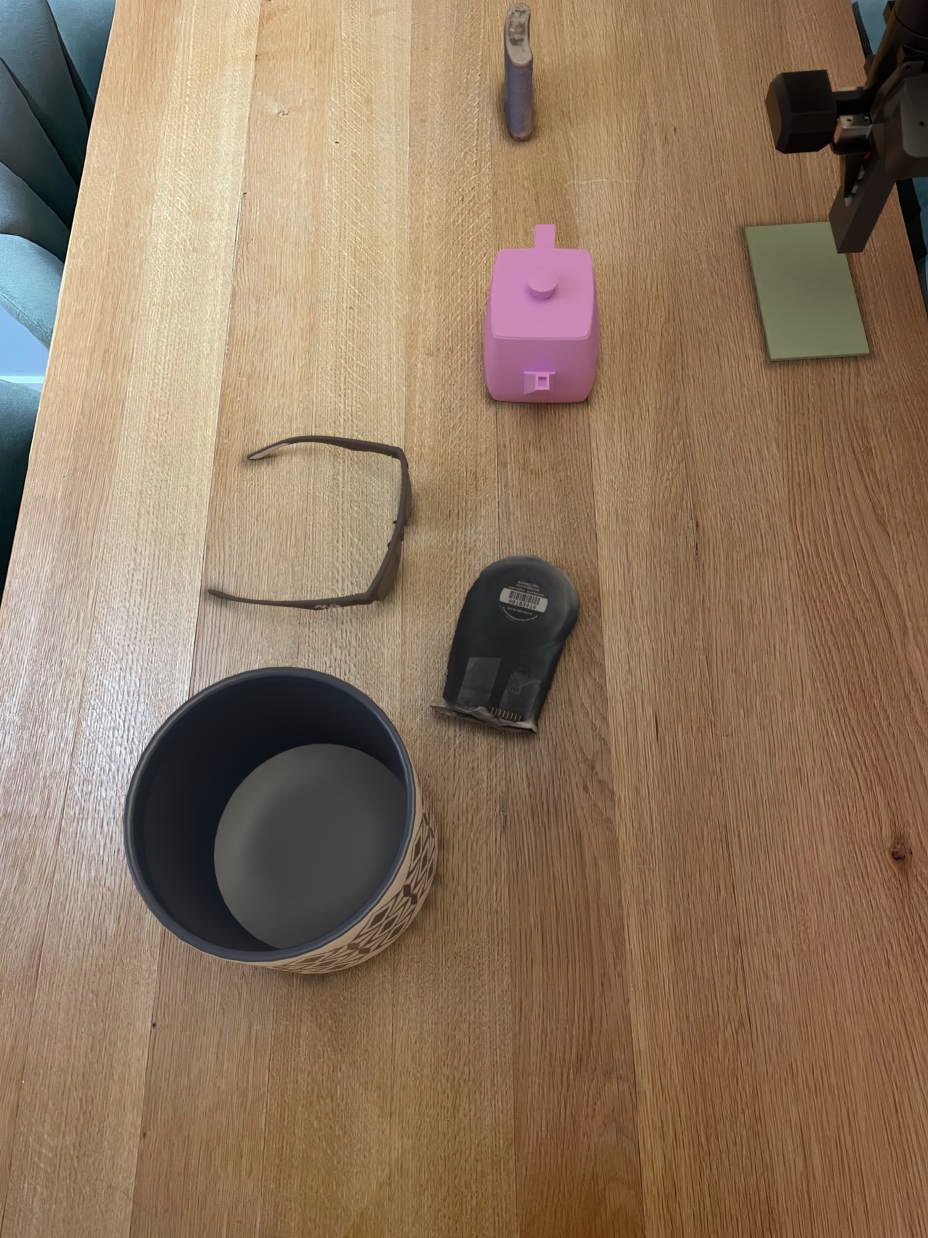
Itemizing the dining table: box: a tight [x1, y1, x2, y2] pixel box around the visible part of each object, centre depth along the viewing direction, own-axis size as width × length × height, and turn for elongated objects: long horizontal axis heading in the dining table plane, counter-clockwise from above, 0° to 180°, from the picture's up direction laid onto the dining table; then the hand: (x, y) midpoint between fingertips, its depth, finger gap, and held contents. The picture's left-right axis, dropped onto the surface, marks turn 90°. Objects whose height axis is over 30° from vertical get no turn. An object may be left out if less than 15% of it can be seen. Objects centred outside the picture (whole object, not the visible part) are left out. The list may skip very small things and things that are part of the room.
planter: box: [122, 665, 439, 975], centre depth 65 cm, size 18×18×16 cm
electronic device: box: [428, 554, 581, 737], centre depth 76 cm, size 9×6×15 cm
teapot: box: [483, 223, 600, 404], centre depth 84 cm, size 18×10×10 cm, turn 177°
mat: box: [744, 221, 870, 362], centre depth 90 cm, size 16×9×1 cm, turn 2°
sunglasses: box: [207, 434, 413, 611], centre depth 81 cm, size 16×17×5 cm
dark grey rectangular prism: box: [827, 124, 897, 254], centre depth 78 cm, size 2×4×10 cm, turn 2°
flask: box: [503, 2, 534, 142], centre depth 97 cm, size 9×3×11 cm, turn 1°
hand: (860, 193), depth 79 cm, fingers closed on dark grey rectangular prism, 2 cm apart
